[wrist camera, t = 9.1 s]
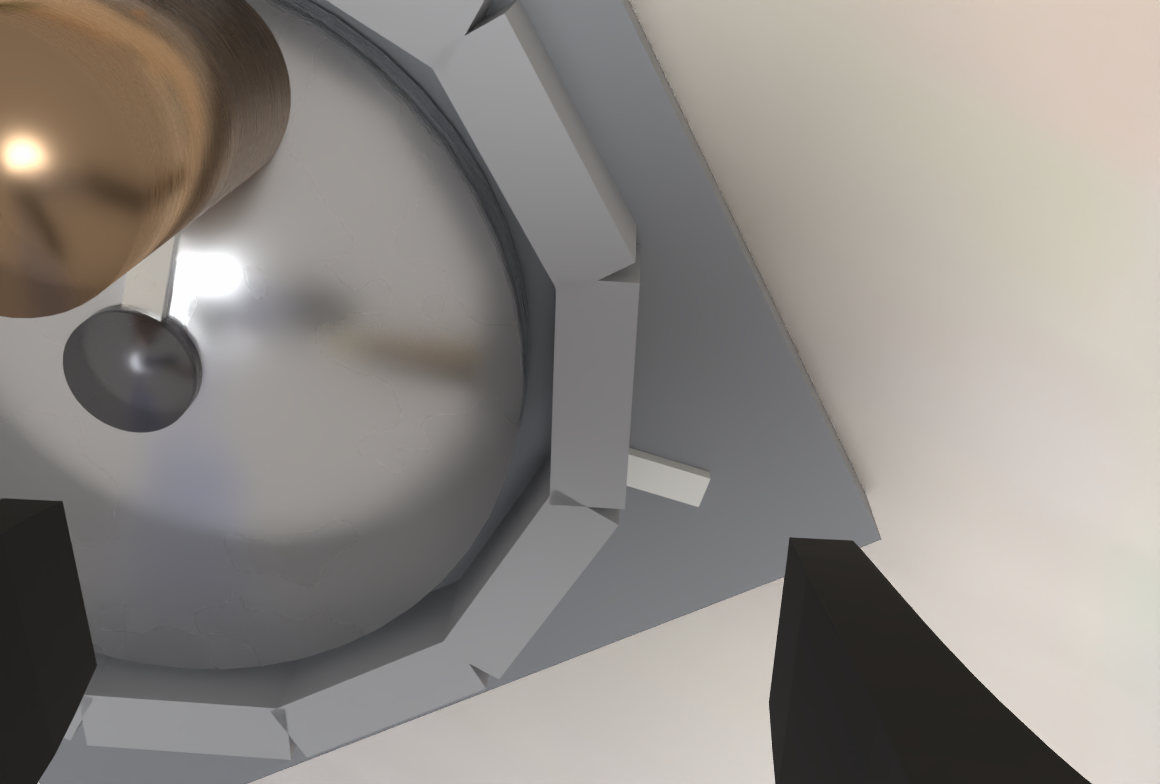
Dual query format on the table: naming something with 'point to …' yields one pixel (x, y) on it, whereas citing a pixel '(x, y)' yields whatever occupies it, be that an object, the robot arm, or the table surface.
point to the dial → (246, 323)
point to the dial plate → (547, 414)
